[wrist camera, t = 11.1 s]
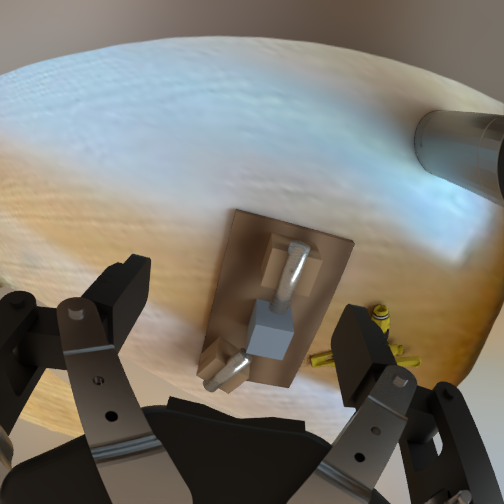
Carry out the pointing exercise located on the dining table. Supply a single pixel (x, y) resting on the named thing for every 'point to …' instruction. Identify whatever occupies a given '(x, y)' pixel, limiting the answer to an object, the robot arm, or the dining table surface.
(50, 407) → the dining table surface
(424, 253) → the dining table surface
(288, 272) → the shaft
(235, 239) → the base board
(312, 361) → the sprinkler
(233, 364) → the shaft
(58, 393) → the dining table surface
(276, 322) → the block
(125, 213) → the dining table surface
